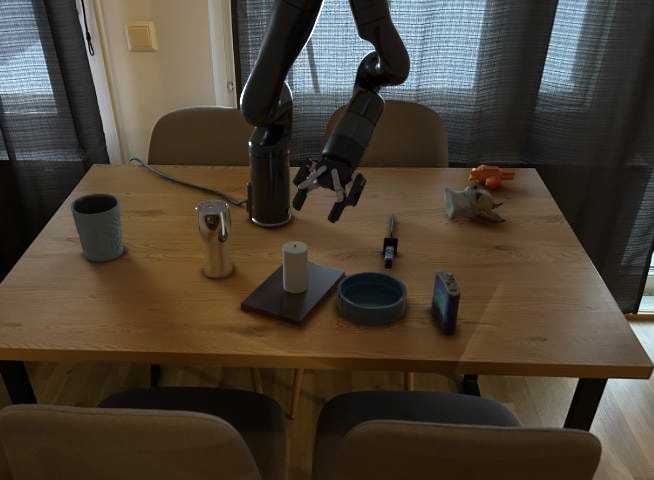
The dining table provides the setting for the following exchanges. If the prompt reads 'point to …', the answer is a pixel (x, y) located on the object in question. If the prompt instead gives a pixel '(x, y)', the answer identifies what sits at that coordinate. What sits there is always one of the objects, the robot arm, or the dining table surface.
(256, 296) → the cutting board
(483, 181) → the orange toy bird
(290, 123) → the robot arm
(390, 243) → the knife
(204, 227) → the beer glass
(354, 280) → the bowl
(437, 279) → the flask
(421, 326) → the dining table surface
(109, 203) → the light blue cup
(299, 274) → the candle
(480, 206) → the ceramic sculpture
